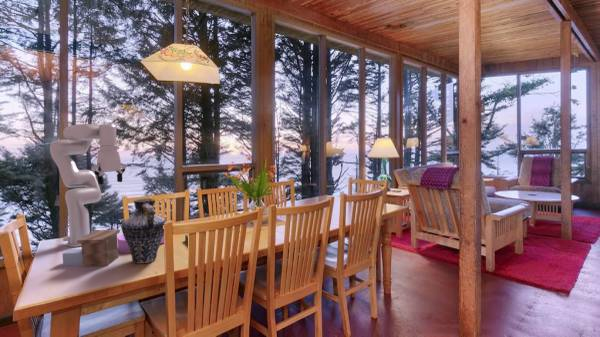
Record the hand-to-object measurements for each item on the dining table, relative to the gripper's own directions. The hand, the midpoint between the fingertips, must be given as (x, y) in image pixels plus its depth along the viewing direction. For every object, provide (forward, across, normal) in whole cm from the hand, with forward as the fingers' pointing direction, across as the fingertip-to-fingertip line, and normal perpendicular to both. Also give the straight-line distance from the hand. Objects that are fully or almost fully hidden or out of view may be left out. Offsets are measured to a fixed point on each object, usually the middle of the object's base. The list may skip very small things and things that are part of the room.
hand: (110, 182), depth 170 cm
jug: (+37, -2, +23) cm, 44 cm away
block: (+37, +14, +1) cm, 40 cm away
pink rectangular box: (+37, -16, +1) cm, 40 cm away
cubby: (+37, +10, +6) cm, 39 cm away
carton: (+37, -34, +23) cm, 55 cm away
